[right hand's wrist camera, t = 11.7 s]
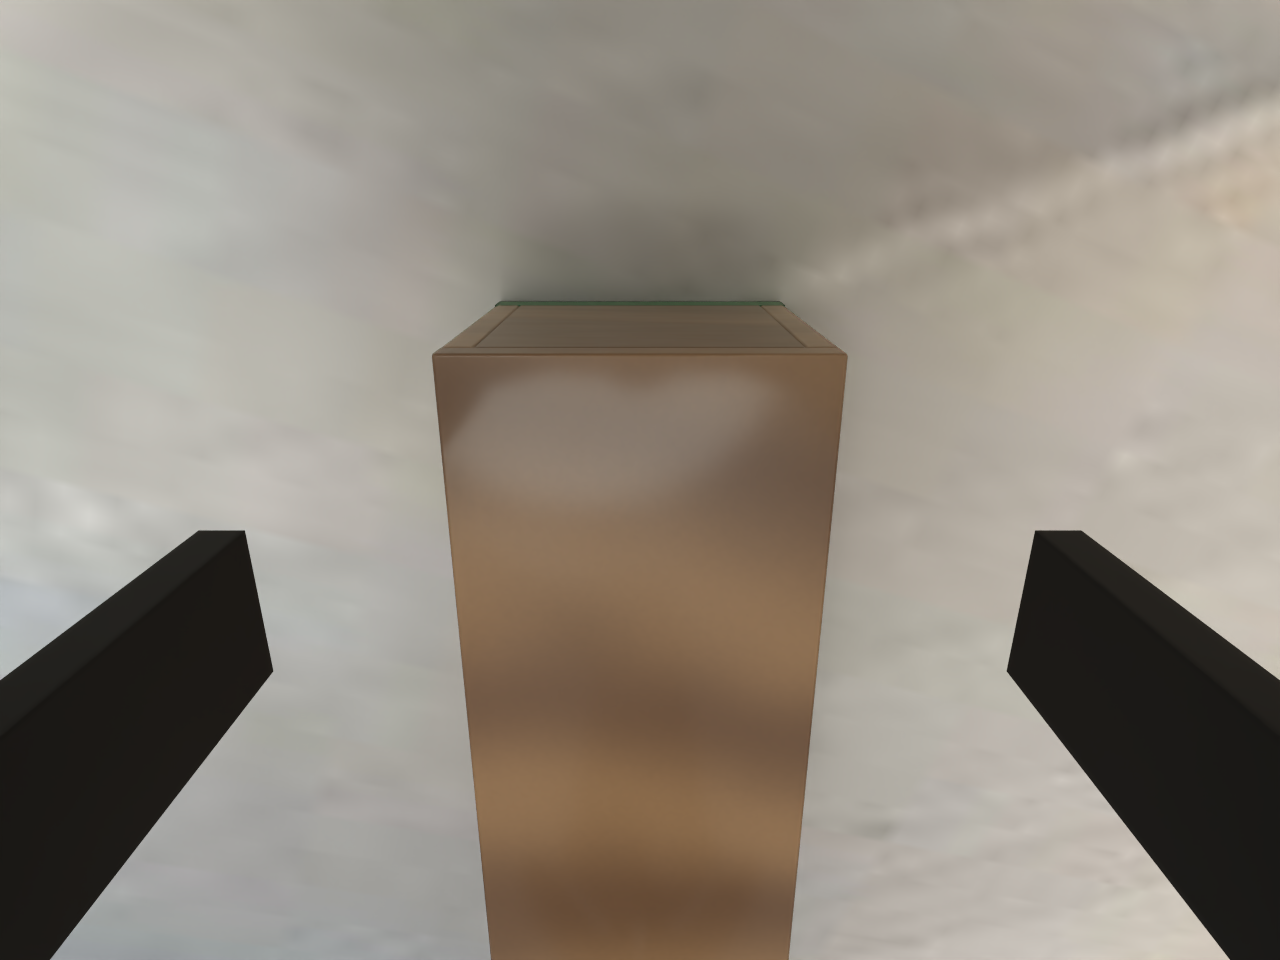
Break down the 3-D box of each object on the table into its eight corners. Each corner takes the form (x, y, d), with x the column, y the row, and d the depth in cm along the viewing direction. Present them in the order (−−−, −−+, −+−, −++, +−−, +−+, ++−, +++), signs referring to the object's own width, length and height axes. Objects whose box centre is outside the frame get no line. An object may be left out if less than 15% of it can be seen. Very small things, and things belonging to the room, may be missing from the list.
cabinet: (749, 778, 34) (787, 980, 25) (530, 778, 34) (492, 980, 25) (780, 301, 26) (849, 353, 18) (499, 301, 26) (430, 353, 18)
